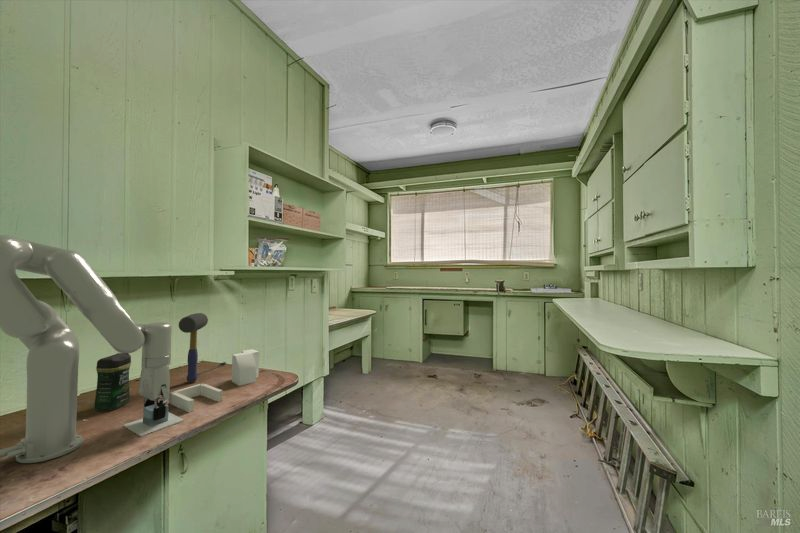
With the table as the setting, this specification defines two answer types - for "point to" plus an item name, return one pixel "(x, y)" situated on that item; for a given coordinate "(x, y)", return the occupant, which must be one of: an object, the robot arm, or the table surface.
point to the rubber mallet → (193, 340)
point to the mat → (143, 429)
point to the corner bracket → (245, 367)
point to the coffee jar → (112, 382)
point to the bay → (184, 396)
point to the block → (149, 416)
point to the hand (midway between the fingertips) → (154, 415)
